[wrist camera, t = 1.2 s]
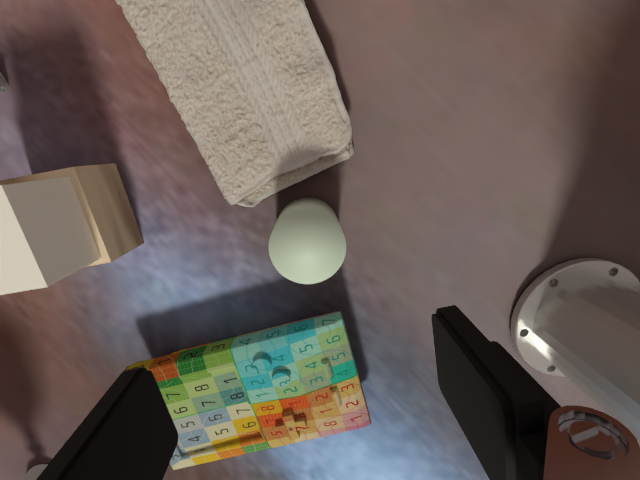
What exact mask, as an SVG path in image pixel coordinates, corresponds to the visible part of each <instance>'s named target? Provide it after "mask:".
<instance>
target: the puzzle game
mask: <svg viewBox="0 0 640 480" xmlns="http://www.w3.org/2000/svg"><path fill="white" fill-rule="evenodd" d="M140 367H145V368H146V369H147V370H149V371H151V372H152V373H153V375H154V377H155V380H156V382H157V384H158V387H159V389H160V392H161V394H162V396H163V399H164V401H165V403H166V406H167V408H168V410H169V413H170V415H171V418H172V420H173V422H174V425H175V427H176V429H177V432H178V443H177V446H176V449H175V451H174V453H173V456H172V458H171V460H170V465H171V467H172V468H173V470H175V469H180V468H184V467H189V466H193V465H198V464H202V463H207V462H211V461H216V460H220V459H225V458H229V457H234V456H238V455H242V454H247V453H251V452H256V451H260V450H265V449H269V448H274V447H278V446H283V445H287V444H292V443H296V442H301V441H305V440H310V439H314V438H319V437H323V436H327V435H332V434H336V433H341V432H345V431H350V430H354V429H359V428H363V427H365V426H367V425H369V424H371V419H370V415H369V411H368V407H367V404H366V400H365V396H364V393H363V389H362V385H361V382H360V378H359V374H358V371H357V367H356V363H355V360H354V356H353V352H352V349H351V345H350V341H349V338H348V334H347V330H346V327H345V323H344V320H343V316H342V312H341V311H334V312H330V313H326V314H322V315H318V316H314V317H310V318H306V319H302V320H298V321H294V322H290V323H287V324H283V325H279V326H275V327H271V328H267V329H263V330H259V331H255V332H251V333H247V334H243V335H239V336H235V337H231V338H227V339H223V340H219V341H215V342H211V343H207V344H203V345H199V346H195V347H191V348H187V349H183V350H179V351H175V352H173V353H172V354H169V355H165V356H162V357H158V358H154V359H150V360H146V361H141V362H137V363H135V364H132V365H130V366H128V367H127V368H126V369H125V370H130V369H135V368H140Z"/></svg>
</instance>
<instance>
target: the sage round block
mask: <svg viewBox="0 0 640 480" xmlns="http://www.w3.org/2000/svg"><path fill="white" fill-rule="evenodd" d="M345 254H346V240H345V236H344V234H343V231H342V229H341V226H340V224H339V221H338V219H337V216H336V214H335V212H334V211H333V209H332V208H331V207H330V206H329V205H328V204H327V203H325V202H324V201H322V200H320V199H317V198H313V197H302V198H298V199H295V200H293V201H291V202H290V203H289V204H287V205H286V206H285V207H284V208H283V210H282V211H281V213H280V215H279V217H278V219H277V222H276V224H275V226H274V229H273V231H272V234H271V236H270V240H269V255H270V258H271V261H272V263H273V265H274V267H275V268H276V269H277V271H278V272H279V273H280V274H281V275H282V276H284V277H285V278H287V279H289V280H291V281H293V282H296V283H300V284H315V283H319V282H322V281H324V280H326V279H328V278H330V277H331V276H332V275H334V274H335V273H336V272H337V270H338V269H339V268H340V266H341V265H342V263H343V261H344V258H345Z"/></svg>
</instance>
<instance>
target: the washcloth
mask: <svg viewBox="0 0 640 480" xmlns="http://www.w3.org/2000/svg"><path fill="white" fill-rule="evenodd" d="M116 2H117V4H118V5H121V7H122V11H123V13H124V15H125V17H126V19H127V21H128V22H129V24H130V25H131V27H132V28H133V30H134V32H135V33H136V34H137V39H138V41H139V43H140V44H141V46H142V47H143V48H144V49H145V51H146V56H147V57H148V59H149V61H150V62H151V63H152V64H153V66H154V68H155V69H156V71H157V73H158V75H159V78H160V80H161V81H162V83H163V84H164V86H165V87H166V89H167V92H168V95H169V99H170V101H171V102H172V103H174V106H175V107H176V109H177V110H178V113H180V115H181V119H182V120H183V121H184V123H185V124H186V129H187V130H188V132H189V133H190V135H191V136H192V137H193V139H194V140H195V142H196V145H197V147H198V149H199V151H200V152H201V154H202V156H203V157H204V159H205V161H206V163H207V165H208V168H209V169H210V171H211V173H212V174H213V179H214V180H215V181H216V183H217V185H218V187H219V188H220V189H221V192H222V194H223V196H224V199H227V202H228V203H230V205H234V204H239V205H241V206H246V207H256V206H255V205H256V204H258V203H259V202H260V201H261V200H262V199H264V198H266V197H268V196H270V195H272V194H274V193H276V192H278V191H281V190H282V189H285V188H287V187H289V186H291V185H293V184H295V183H298V182H300V181H302V180H304V179H306V178H308V177H310V176H312V175H314V174H316V173H318V172H320V171H322V170H325V169H327V168H329V167H331V166H333V165H335V164H338V163H340V162H342V161H344V160H347V159H349V158H351V157H350V156H351V155H353V154H354V148H353V147H352V145H353V144H352V140H351V137H352V128H351V121H350V117H349V115H348V112H347V110H346V107H345V106H344V102H343V100H342V97H341V93H340V90H339V88H338V85H337V82H336V77H335V73H334V70H333V67H332V65H331V64H330V61H329V59H328V56H327V55H326V52H325V50H324V48H323V45H322V43H321V41H320V39H319V37H318V34H317V32H316V30H315V27H314V25H313V23H312V21H311V18H310V16H309V13H308V10H307V8H306V5H305V2H304V0H116Z"/></svg>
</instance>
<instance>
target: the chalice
mask: <svg viewBox="0 0 640 480" xmlns="http://www.w3.org/2000/svg"><path fill="white" fill-rule="evenodd" d="M47 465H48V464H40V465H36V466H34V467H32V468H31V469H29V470H28V472H27V473H26V477H25V480H36V479H37V478H38V477H39V475H40V474H41V473H42V472H43V470H44V469H45V468H46V467H47Z"/></svg>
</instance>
